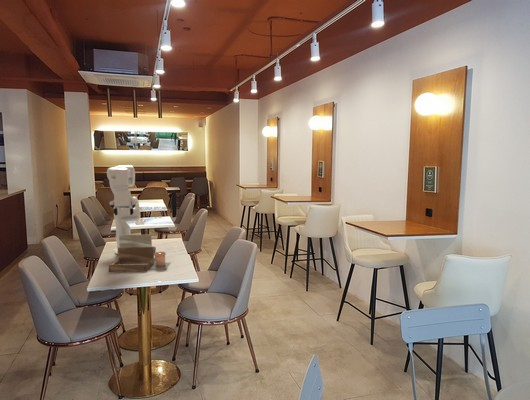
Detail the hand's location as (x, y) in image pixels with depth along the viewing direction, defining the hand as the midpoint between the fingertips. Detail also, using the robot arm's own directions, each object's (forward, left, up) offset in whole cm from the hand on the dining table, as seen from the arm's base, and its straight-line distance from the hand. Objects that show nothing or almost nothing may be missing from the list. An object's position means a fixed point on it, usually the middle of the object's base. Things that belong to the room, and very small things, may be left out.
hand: (123, 214), depth 252 cm
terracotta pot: (+14, +25, -30) cm, 42 cm away
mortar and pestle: (-6, +13, -31) cm, 34 cm away
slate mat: (+14, +25, -30) cm, 42 cm away
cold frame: (+14, +8, -30) cm, 34 cm away
